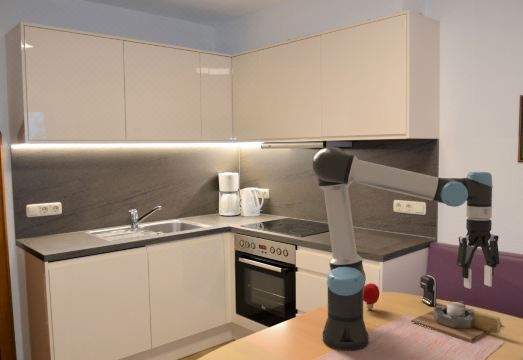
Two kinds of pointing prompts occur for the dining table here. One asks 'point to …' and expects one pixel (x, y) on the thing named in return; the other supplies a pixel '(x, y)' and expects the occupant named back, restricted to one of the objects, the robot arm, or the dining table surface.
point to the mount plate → (460, 333)
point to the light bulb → (370, 295)
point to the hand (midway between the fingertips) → (477, 286)
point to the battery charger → (429, 290)
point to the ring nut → (467, 319)
